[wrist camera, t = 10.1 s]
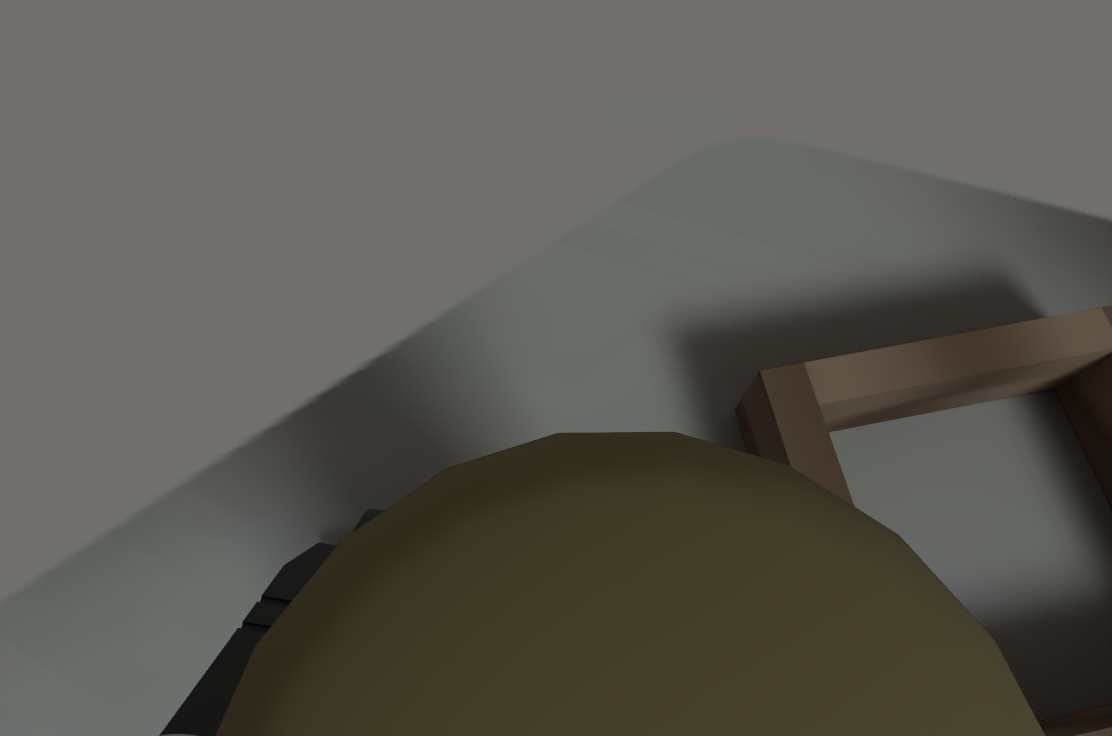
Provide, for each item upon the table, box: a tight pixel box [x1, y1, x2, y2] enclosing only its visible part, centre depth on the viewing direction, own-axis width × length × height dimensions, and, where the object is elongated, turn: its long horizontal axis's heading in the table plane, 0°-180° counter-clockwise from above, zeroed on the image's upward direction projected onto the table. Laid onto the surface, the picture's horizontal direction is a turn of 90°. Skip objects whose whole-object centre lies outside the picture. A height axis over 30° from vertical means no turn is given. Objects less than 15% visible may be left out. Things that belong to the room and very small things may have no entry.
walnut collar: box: [735, 306, 1112, 736], centre depth 20 cm, size 11×11×3 cm
